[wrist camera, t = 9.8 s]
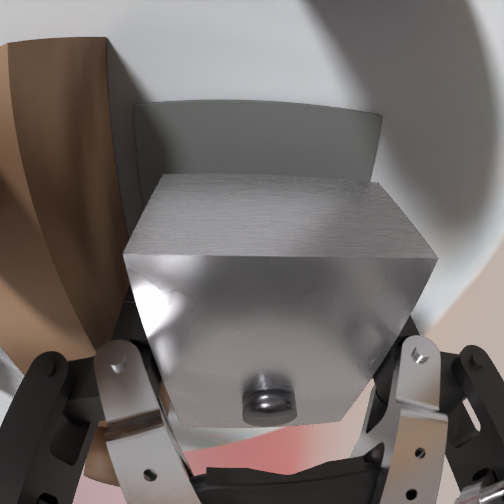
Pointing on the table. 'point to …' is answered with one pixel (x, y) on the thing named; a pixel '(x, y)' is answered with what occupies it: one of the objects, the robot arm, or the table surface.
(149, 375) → the robot arm
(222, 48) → the table surface
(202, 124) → the mat
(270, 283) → the lever cap
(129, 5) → the table surface
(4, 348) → the body
